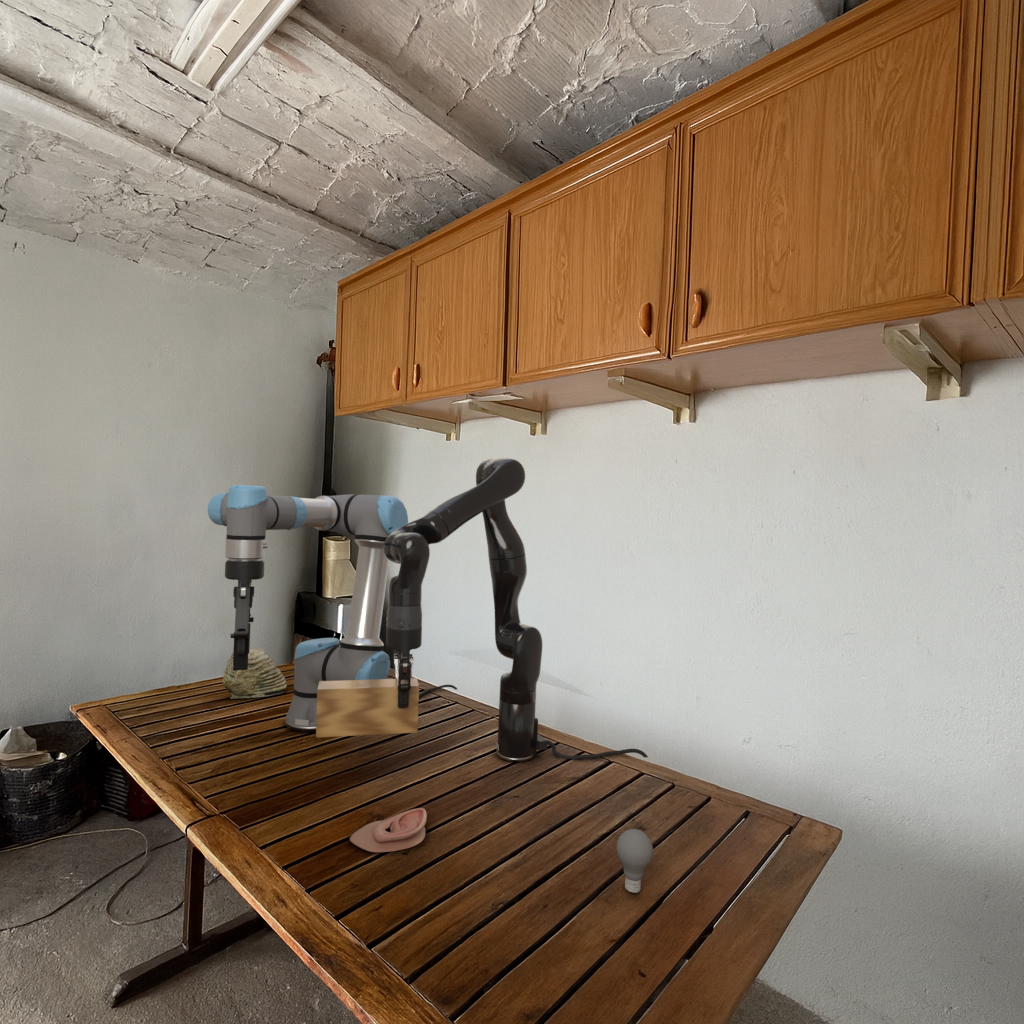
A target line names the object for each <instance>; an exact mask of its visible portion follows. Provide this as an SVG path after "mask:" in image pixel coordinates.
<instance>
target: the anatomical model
mask: <svg viewBox="0 0 1024 1024" xmlns="http://www.w3.org/2000/svg"><path fill="white" fill-rule="evenodd" d="M427 814H428V813H427V811H426V809H425V808H424V807H417V808H412V809H409V810H406V811H403V812H401V813H397V814H396V815H393V816H390V817H388V818H386V819H384V820H377V821H373V822H370V823H368V824H365V825H364V826H362V827H360V828H359V829H358V830H355V832H353V834H351V835H350V837H349V841H350V842H351V843H352V844H353V845H355V846H356V847H358V848H360V849H362V850H365V851H366V852H370V853H386V852H387V853H388V852H389V853H390V852H396V851H403V850H406V849H409V848H412V847H415V846H417V845H419V844H421V843H422V842H423V841H424V840H425V837H426V827H425V826H426V824H427V820H428V819H427V817H428V815H427Z"/></svg>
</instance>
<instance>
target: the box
mask: <svg viewBox="0 0 1024 1024" xmlns="http://www.w3.org/2000/svg"><path fill="white" fill-rule="evenodd" d="M401 684H407V680H401ZM397 686H398V680H397V679H396V678H387V679H373V680H341V681H319V685H318V689H317V718H316V732H315V738H332V737H333V738H335V737H354V736H355V737H356V736H374V735H376V736H377V735H392V734H393V735H396V734H412V733H415V734H416V733H419V706H420V705H419V700H420V697H419V694H420V685H419V681H418V678H417V677H412V678H411V682H410V686H411V688H410V690H409V703H408V707H407V708H398V689H397Z"/></svg>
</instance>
